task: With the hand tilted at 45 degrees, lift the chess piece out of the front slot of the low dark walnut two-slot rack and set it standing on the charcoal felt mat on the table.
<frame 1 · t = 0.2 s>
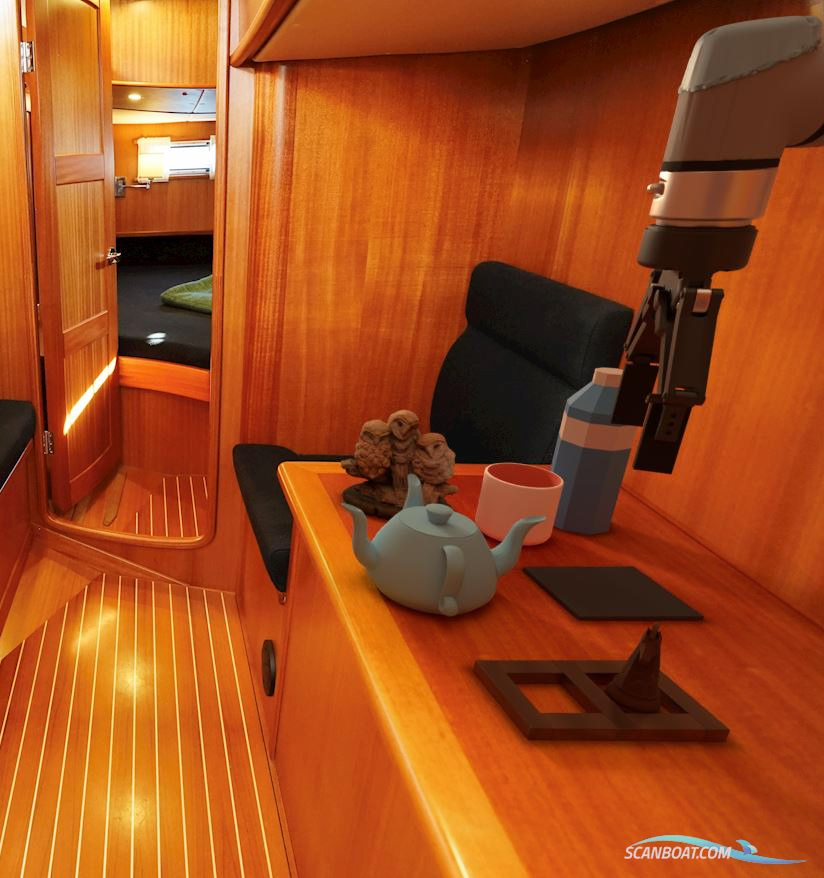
hand: (637, 445, 69), 28 cm above the table, tool pointing down, fingers open, 13 cm apart
owl figurine: (392, 507, 120), on the table
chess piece: (630, 705, 75), resting in rack
teapot: (425, 585, 97), on the table
cup: (510, 534, 110), on the table
rack: (589, 703, 75), on the table
felt mat: (607, 593, 93), on the table
water bottle: (572, 522, 113), on the table
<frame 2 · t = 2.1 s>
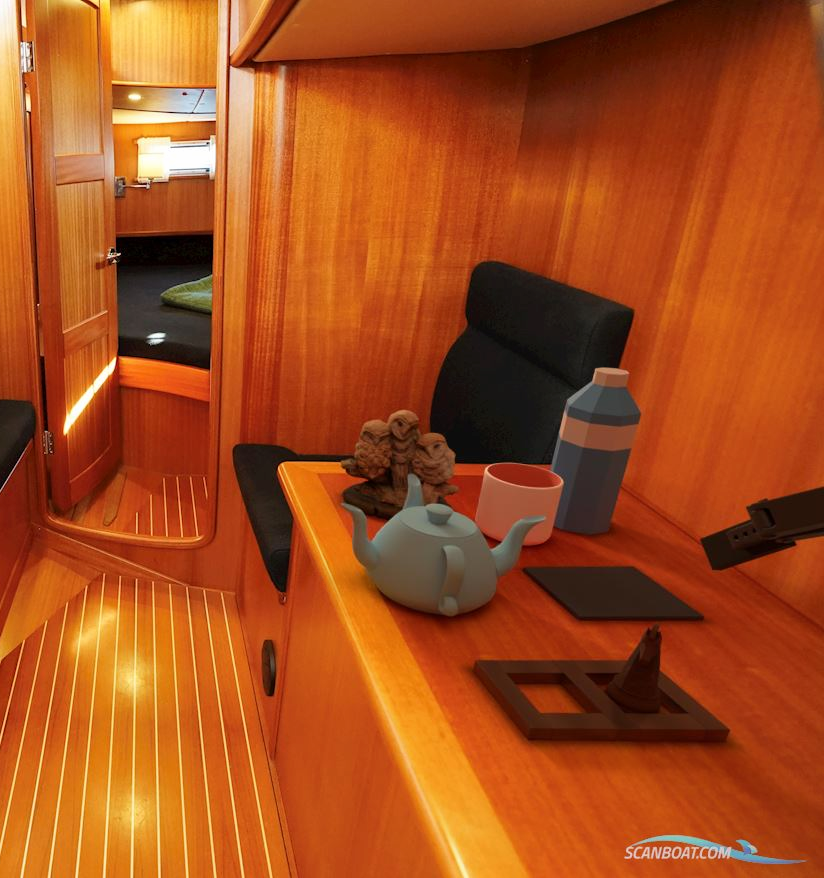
hand: (792, 557, 58), 23 cm above the table, tool tilted 45°, fingers open, 13 cm apart
nothing on the table moved.
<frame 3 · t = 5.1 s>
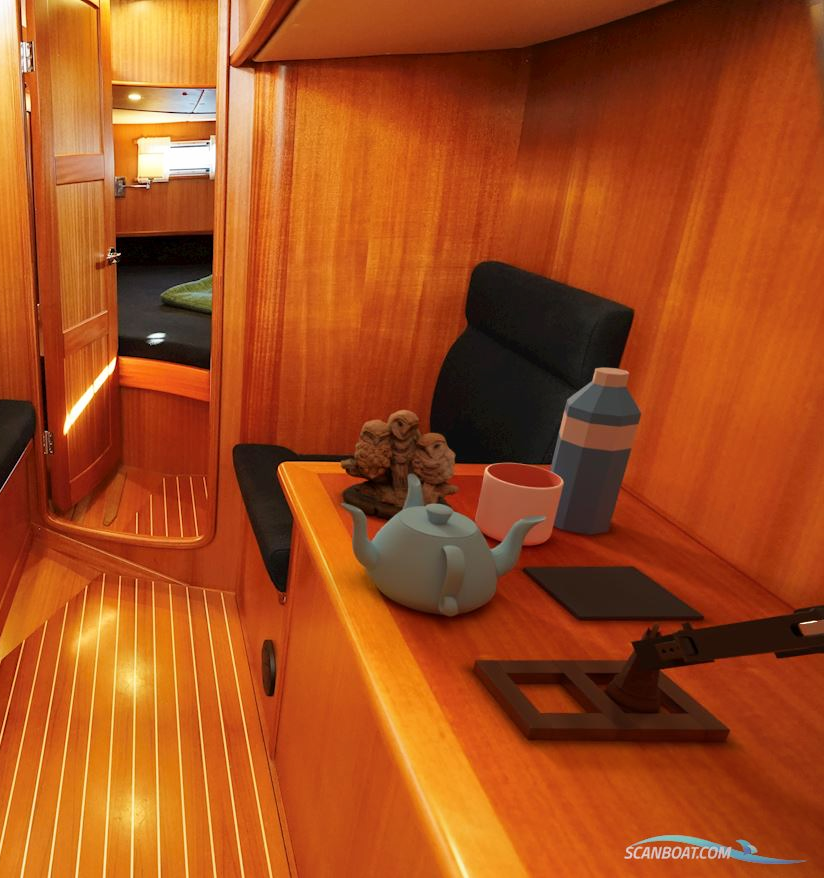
hand: (706, 650, 66), 11 cm above the table, tool tilted 45°, fingers open, 13 cm apart
nothing on the table moved.
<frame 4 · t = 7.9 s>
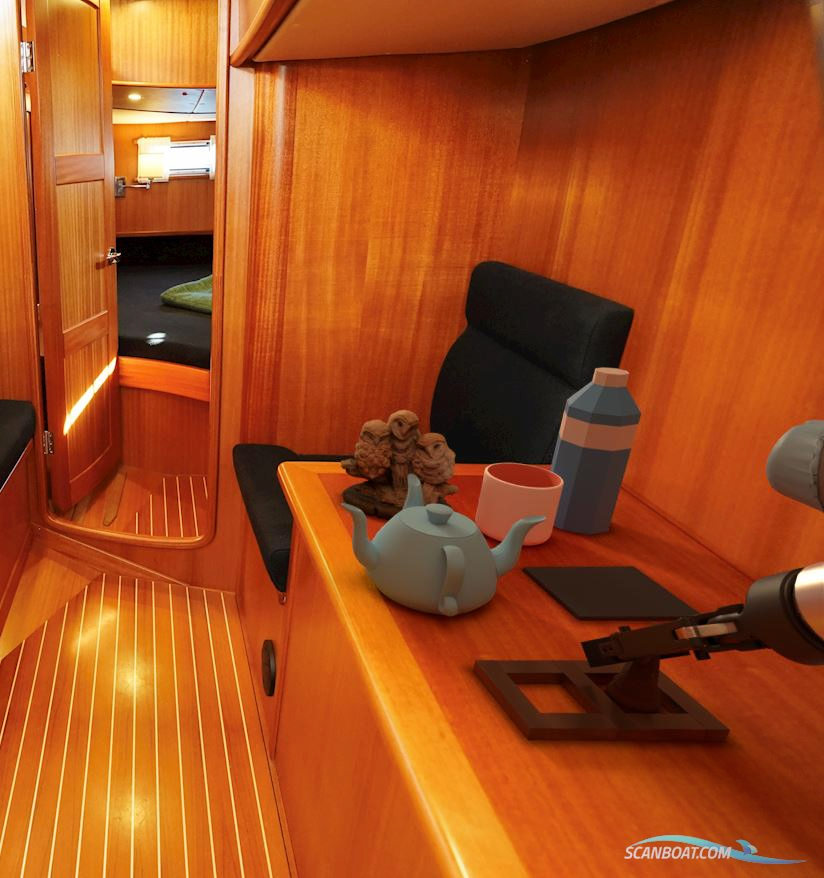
hand: (609, 652, 77), 4 cm above the table, tool tilted 45°, fingers closed on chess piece, 4 cm apart
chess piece: (630, 705, 75), resting in rack, touching gripper
everything else where it was.
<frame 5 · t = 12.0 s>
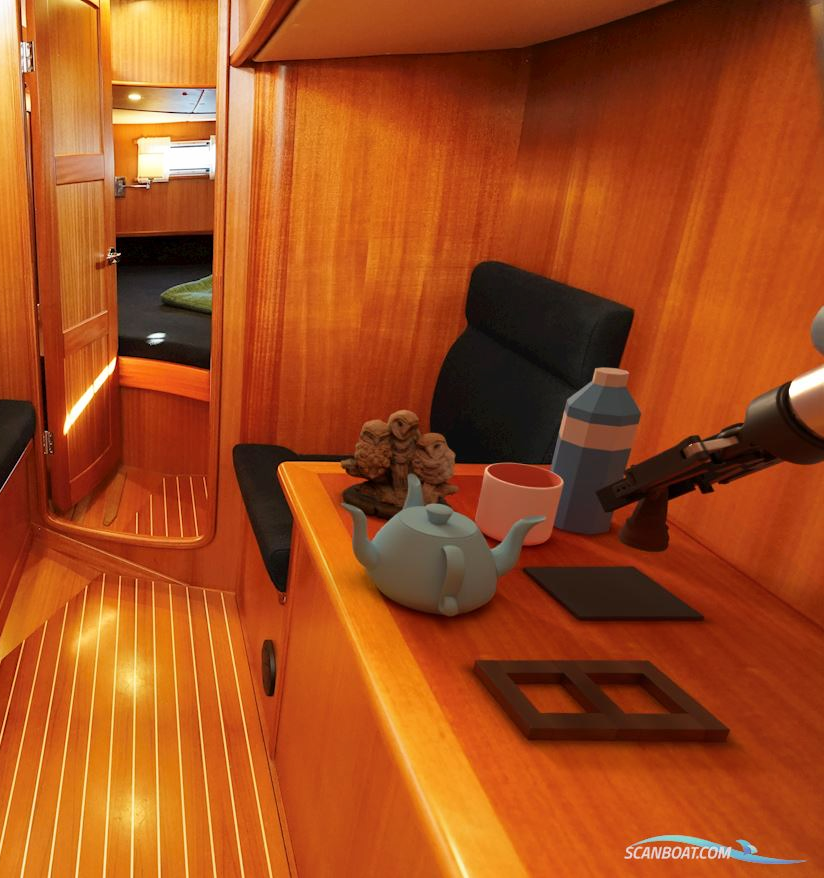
hand: (621, 500, 84), 16 cm above the table, tool tilted 45°, fingers closed on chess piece, 4 cm apart
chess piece: (641, 543, 82), point 12 cm above the table, touching gripper
everything else where it was.
when the fingers open (4 cm above the table, at t = 16.5 s): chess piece stays where it is, resting on felt mat.
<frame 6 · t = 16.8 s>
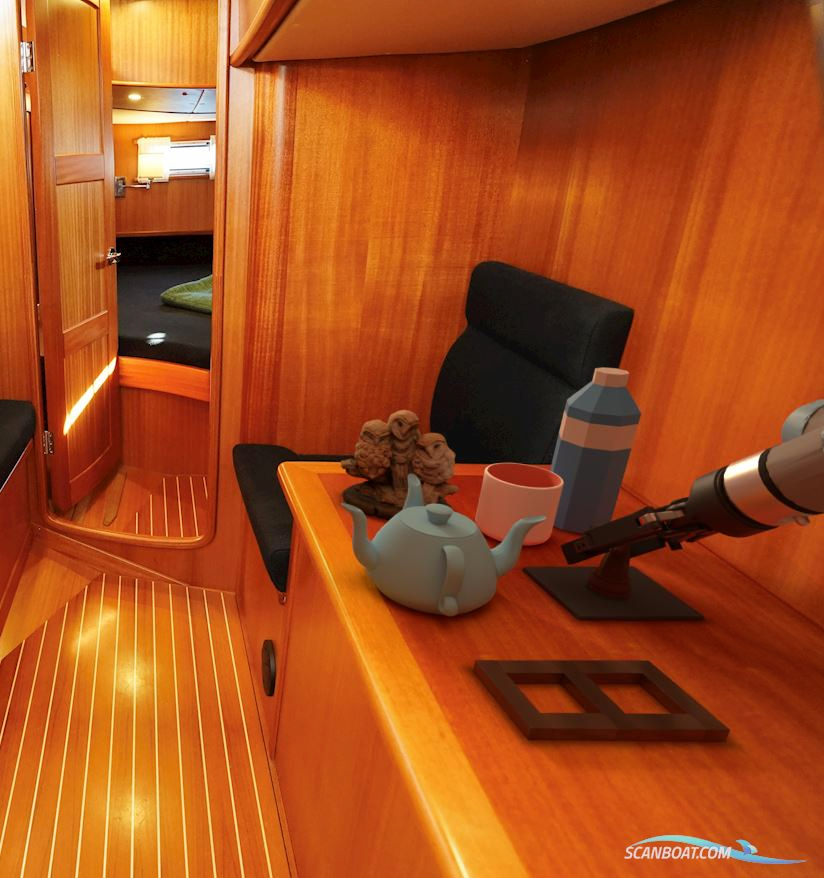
hand: (593, 552, 95), 4 cm above the table, tool tilted 45°, fingers open, 7 cm apart
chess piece: (607, 591, 93), resting on felt mat
everything else where it was.
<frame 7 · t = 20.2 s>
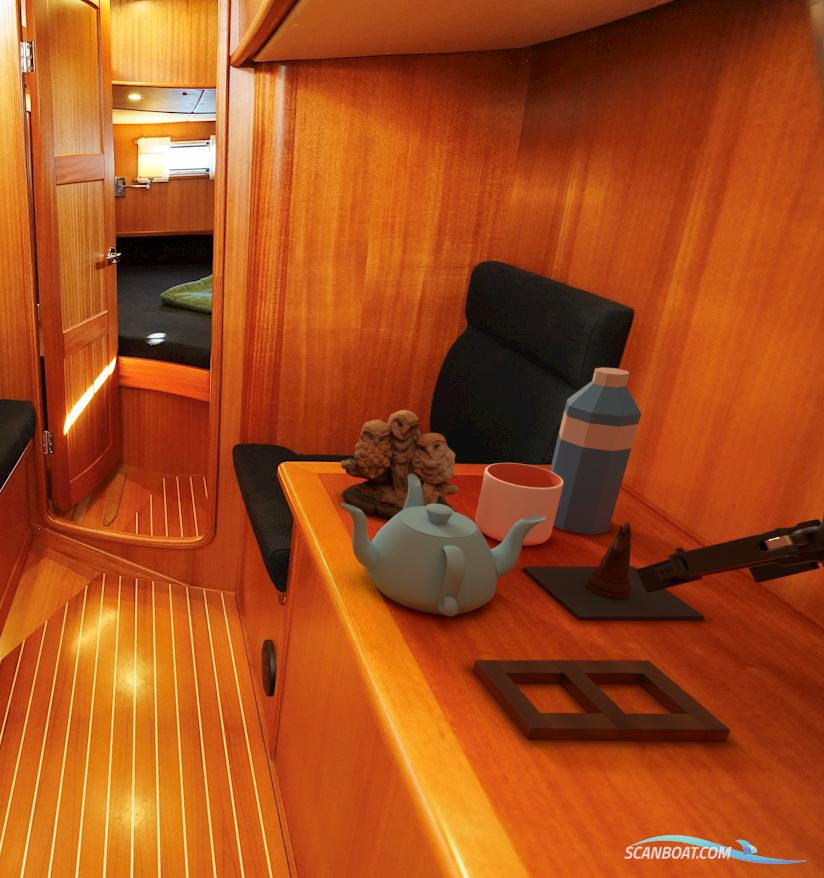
hand: (698, 575, 81), 9 cm above the table, tool tilted 45°, fingers open, 13 cm apart
nothing on the table moved.
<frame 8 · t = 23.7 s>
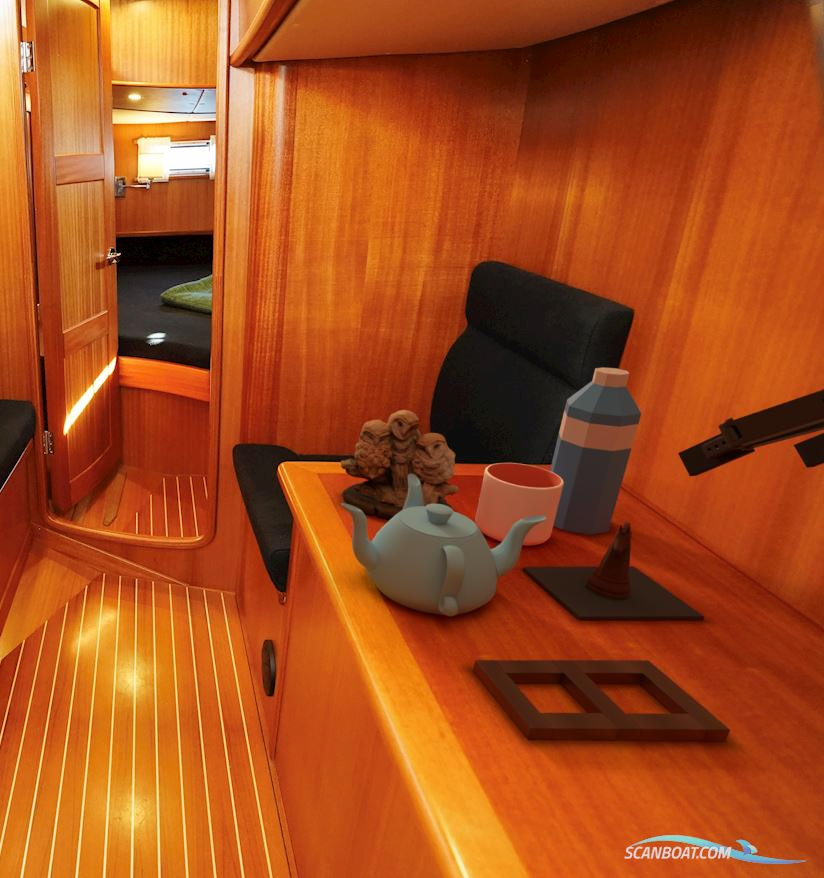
hand: (745, 460, 75), 24 cm above the table, tool tilted 45°, fingers open, 13 cm apart
nothing on the table moved.
at the end: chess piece inside the target area on the felt mat (0.0 cm from its centre), point 0.4 cm above the felt mat's base; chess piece tilted 0°; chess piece touching felt mat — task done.
